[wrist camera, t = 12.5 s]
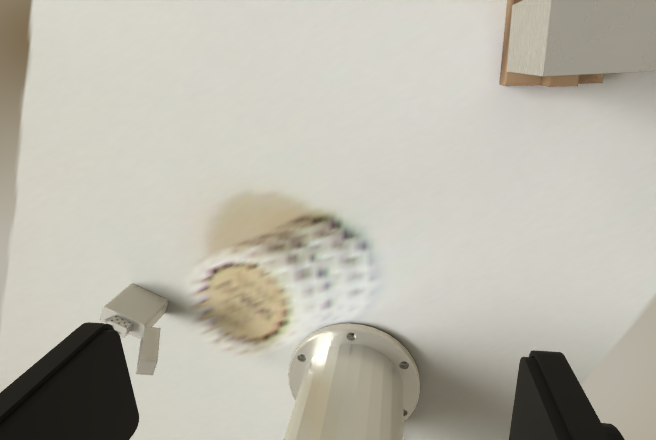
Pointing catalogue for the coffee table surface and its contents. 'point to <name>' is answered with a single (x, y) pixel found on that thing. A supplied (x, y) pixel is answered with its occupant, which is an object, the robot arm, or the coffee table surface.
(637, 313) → the coffee table surface
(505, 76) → the rail
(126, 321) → the lighter
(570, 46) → the white and wooden block
